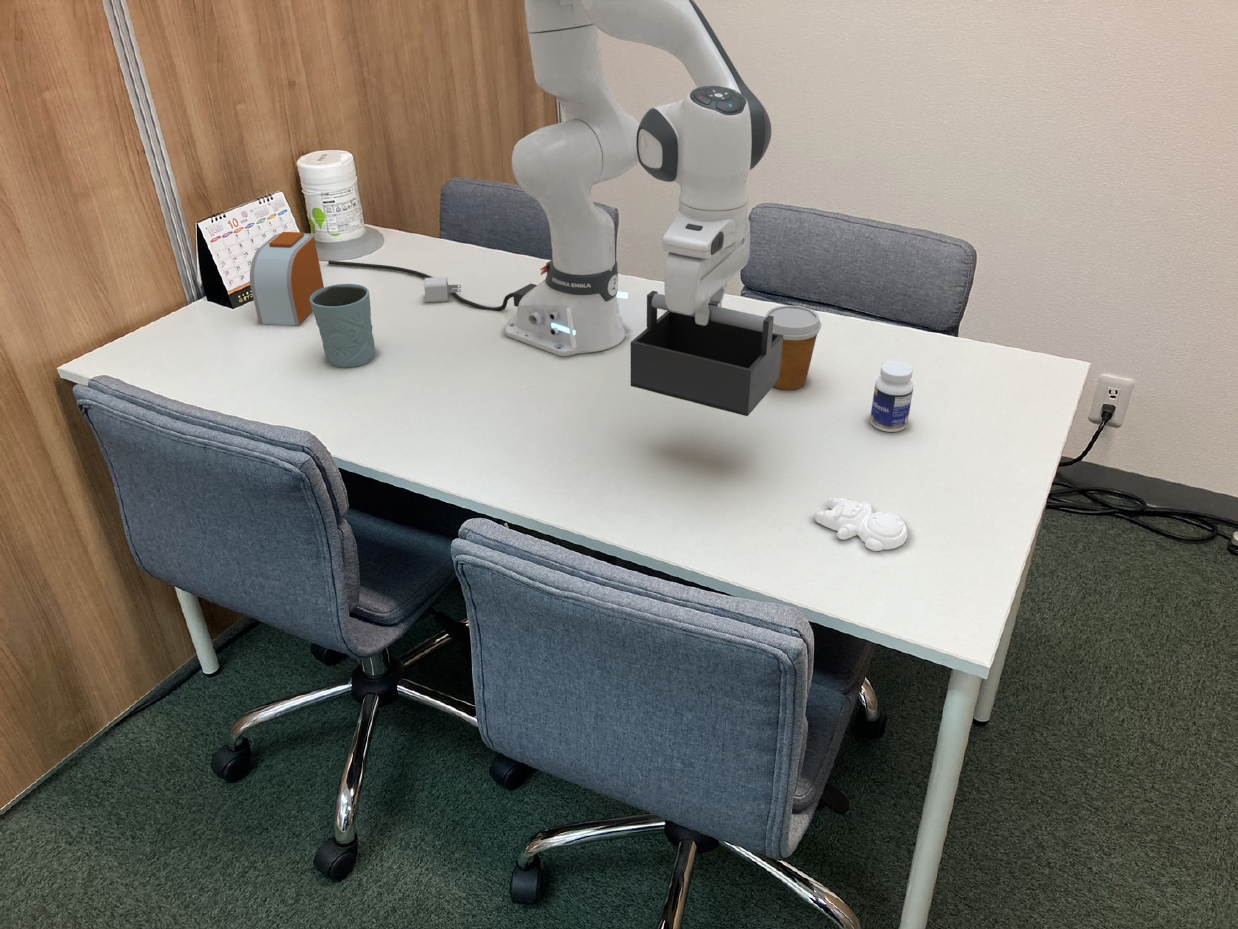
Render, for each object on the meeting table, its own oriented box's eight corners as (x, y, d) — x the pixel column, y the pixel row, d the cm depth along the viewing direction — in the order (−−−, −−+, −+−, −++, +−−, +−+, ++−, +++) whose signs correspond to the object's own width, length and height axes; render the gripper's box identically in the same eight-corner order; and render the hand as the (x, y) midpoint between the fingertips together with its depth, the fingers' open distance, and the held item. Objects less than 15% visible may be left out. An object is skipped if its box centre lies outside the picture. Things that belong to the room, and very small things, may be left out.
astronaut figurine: (840, 496, 139) (842, 479, 137) (918, 530, 132) (921, 512, 131) (806, 525, 134) (808, 507, 132) (885, 561, 127) (888, 543, 125)
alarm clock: (289, 292, 202) (275, 228, 194) (329, 293, 201) (316, 229, 193) (257, 323, 190) (241, 256, 182) (299, 325, 189) (285, 258, 181)
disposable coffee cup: (814, 397, 163) (821, 331, 156) (756, 392, 164) (760, 326, 158) (816, 370, 170) (823, 306, 164) (760, 365, 172) (765, 302, 165)
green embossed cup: (338, 375, 172) (326, 311, 165) (311, 355, 178) (298, 293, 171) (390, 356, 177) (379, 294, 170) (362, 338, 184) (351, 277, 177)
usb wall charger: (427, 295, 199) (425, 276, 197) (461, 293, 200) (459, 274, 198) (426, 303, 196) (423, 284, 194) (461, 301, 197) (459, 282, 194)
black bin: (629, 386, 141) (629, 308, 134) (666, 351, 150) (668, 277, 143) (748, 416, 134) (754, 337, 127) (780, 378, 143) (787, 302, 136)
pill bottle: (862, 419, 157) (870, 363, 151) (892, 411, 158) (901, 355, 153) (884, 436, 152) (893, 379, 147) (914, 428, 154) (924, 371, 149)
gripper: (722, 193, 137) (717, 286, 145) (656, 242, 122) (654, 342, 130) (765, 200, 135) (757, 294, 142) (702, 251, 120) (698, 353, 128)
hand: (708, 318), depth 136 cm, fingers closed on black bin
